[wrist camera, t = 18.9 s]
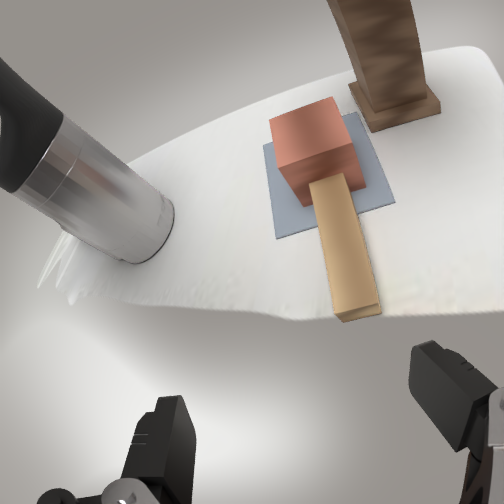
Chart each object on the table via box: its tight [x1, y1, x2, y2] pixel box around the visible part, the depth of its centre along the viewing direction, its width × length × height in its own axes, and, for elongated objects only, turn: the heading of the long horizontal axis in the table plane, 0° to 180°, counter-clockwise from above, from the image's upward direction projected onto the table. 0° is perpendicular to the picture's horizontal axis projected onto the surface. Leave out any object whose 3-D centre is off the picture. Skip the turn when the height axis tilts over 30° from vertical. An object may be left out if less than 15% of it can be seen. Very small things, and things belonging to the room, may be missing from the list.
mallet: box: [269, 97, 382, 323], centre depth 24 cm, size 6×17×6 cm, turn 6°
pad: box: [263, 112, 395, 239], centre depth 30 cm, size 11×12×1 cm
